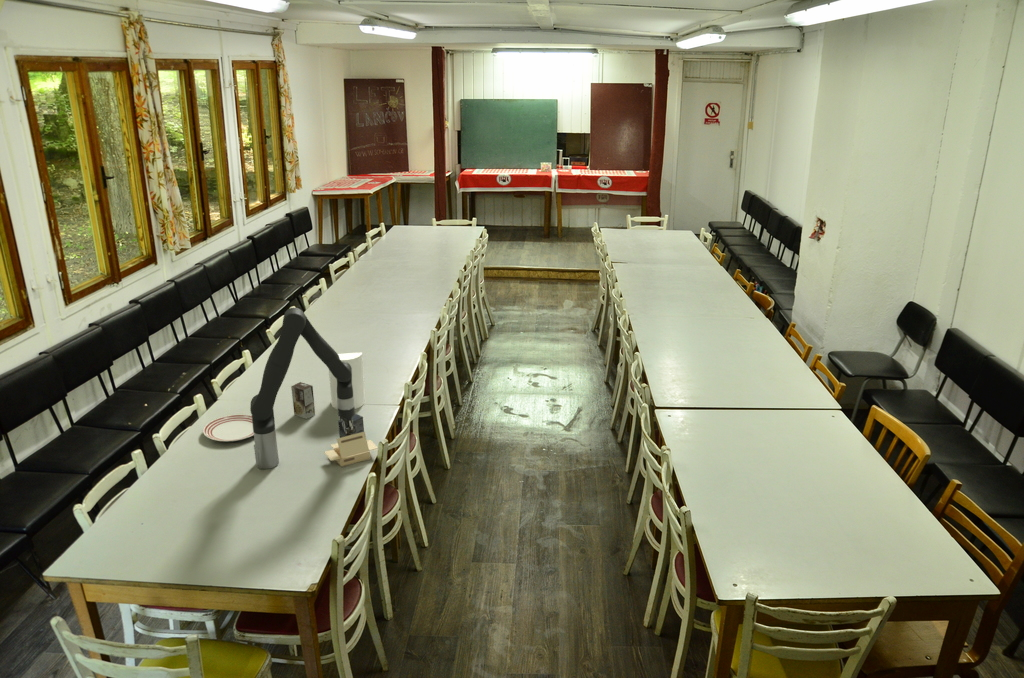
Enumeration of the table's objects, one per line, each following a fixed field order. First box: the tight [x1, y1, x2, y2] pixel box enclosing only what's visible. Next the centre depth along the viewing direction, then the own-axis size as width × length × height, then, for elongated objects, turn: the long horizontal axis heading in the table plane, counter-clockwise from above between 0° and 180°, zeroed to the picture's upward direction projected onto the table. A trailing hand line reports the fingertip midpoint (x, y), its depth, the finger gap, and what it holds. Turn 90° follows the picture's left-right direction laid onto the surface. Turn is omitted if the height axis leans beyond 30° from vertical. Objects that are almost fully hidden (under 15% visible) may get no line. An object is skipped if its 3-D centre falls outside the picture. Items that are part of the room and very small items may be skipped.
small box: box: [337, 413, 365, 438], centre depth 363 cm, size 11×6×10 cm, turn 141°
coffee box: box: [290, 381, 316, 420], centre depth 383 cm, size 9×6×16 cm
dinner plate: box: [202, 413, 254, 443], centre depth 367 cm, size 27×27×3 cm
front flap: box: [336, 431, 369, 458], centre depth 341 cm, size 13×1×9 cm, turn 122°
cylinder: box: [328, 352, 366, 410], centre depth 394 cm, size 17×17×28 cm
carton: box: [323, 439, 379, 468], centre depth 348 cm, size 22×14×4 cm, turn 122°
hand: (348, 439), depth 346 cm, fingers closed
